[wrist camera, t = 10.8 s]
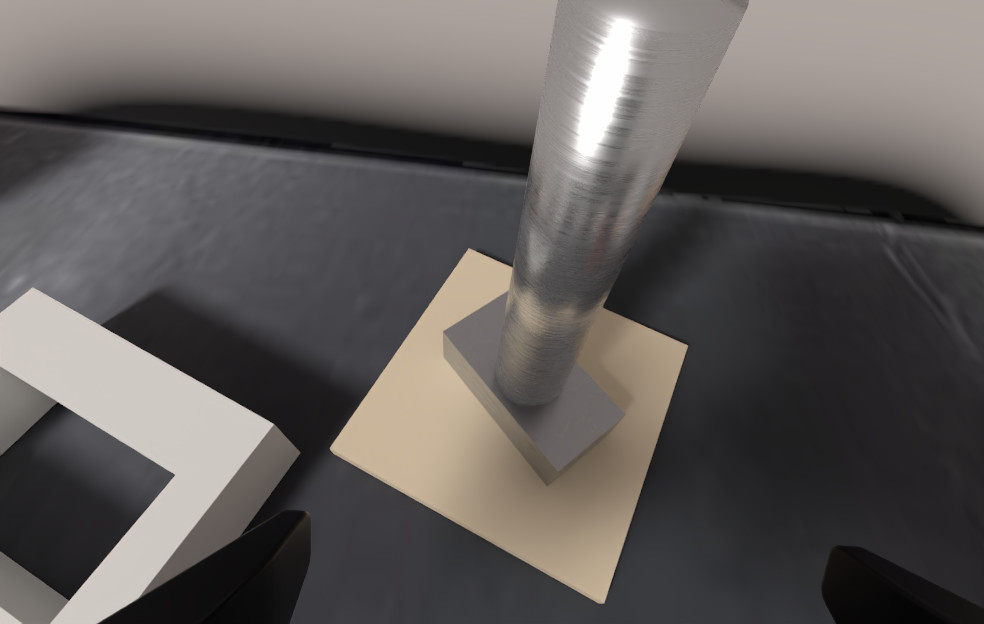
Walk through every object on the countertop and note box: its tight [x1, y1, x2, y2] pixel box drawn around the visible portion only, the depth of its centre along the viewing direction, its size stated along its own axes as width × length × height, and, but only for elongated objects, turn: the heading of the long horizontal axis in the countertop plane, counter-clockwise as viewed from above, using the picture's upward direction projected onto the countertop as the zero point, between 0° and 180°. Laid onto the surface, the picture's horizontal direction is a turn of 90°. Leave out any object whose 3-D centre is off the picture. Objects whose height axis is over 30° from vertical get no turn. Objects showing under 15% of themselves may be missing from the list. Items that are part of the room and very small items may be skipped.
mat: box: [330, 249, 688, 604], centre depth 19 cm, size 10×10×1 cm
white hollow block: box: [0, 288, 300, 624], centre depth 15 cm, size 10×9×3 cm
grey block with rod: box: [443, 0, 749, 486], centre depth 12 cm, size 6×3×14 cm, turn 38°
